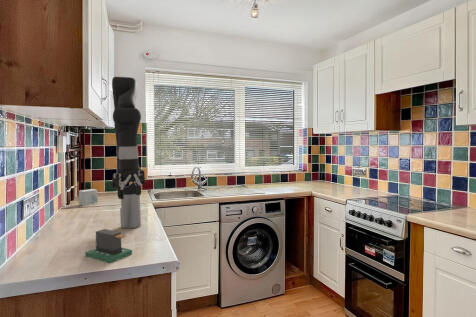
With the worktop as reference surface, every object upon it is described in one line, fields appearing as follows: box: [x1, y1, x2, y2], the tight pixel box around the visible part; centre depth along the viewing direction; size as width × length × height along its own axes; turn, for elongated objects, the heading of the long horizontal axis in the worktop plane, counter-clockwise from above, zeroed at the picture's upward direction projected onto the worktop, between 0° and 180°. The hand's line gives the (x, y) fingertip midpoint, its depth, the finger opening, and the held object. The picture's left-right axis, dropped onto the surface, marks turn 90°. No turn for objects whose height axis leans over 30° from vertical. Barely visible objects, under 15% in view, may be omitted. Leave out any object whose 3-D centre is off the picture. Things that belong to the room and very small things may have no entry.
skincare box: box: [78, 188, 99, 206], centre depth 209 cm, size 10×6×10 cm, turn 141°
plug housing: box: [95, 228, 126, 251], centre depth 111 cm, size 13×4×6 cm, turn 61°
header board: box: [84, 246, 133, 264], centre depth 112 cm, size 14×10×6 cm
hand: (129, 196), depth 120 cm, fingers open, 8 cm apart
